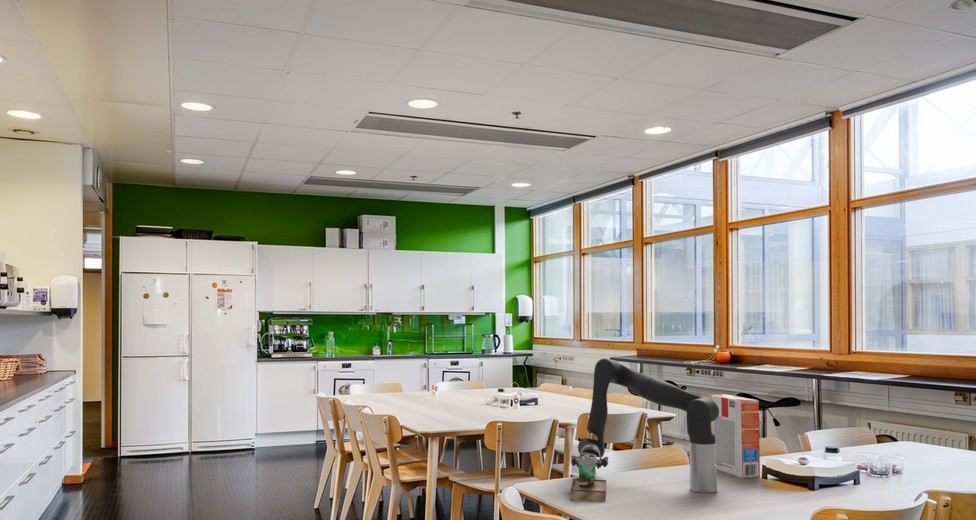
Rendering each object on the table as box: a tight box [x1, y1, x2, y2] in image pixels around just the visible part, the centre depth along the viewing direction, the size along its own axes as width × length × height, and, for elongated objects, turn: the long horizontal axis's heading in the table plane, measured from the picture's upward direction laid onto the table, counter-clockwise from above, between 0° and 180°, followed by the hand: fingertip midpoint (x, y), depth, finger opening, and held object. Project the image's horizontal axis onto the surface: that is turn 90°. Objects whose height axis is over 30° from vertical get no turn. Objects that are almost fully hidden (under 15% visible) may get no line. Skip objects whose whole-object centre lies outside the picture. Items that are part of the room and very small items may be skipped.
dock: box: [570, 478, 607, 502], centre depth 277 cm, size 12×18×3 cm, turn 171°
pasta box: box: [708, 393, 761, 479], centre depth 318 cm, size 23×8×30 cm, turn 17°
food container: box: [578, 452, 597, 487], centre depth 277 cm, size 12×6×10 cm, turn 168°
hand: (588, 465), depth 277 cm, fingers closed on food container, 6 cm apart
